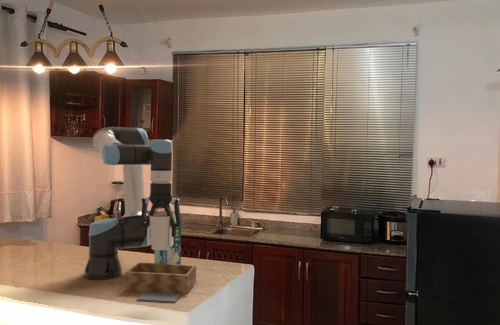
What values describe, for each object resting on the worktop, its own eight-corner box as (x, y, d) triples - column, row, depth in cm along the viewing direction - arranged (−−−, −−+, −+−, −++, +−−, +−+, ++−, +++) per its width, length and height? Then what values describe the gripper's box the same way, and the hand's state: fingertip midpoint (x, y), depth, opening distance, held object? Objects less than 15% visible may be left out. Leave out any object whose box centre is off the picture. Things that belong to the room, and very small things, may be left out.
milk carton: (159, 277, 185) (160, 218, 184) (154, 272, 193) (154, 215, 192) (180, 275, 189) (181, 217, 188) (174, 269, 197) (174, 214, 196)
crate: (125, 290, 168) (125, 272, 168) (138, 279, 182) (139, 262, 182) (187, 293, 166) (187, 275, 166) (195, 282, 180) (196, 265, 179)
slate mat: (136, 300, 158) (136, 299, 158) (144, 293, 166) (144, 291, 165) (174, 302, 156) (174, 301, 156) (180, 295, 164) (180, 293, 164)
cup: (150, 245, 164) (150, 213, 164) (172, 245, 165) (172, 213, 164) (147, 250, 156) (147, 217, 156) (170, 250, 157) (170, 217, 156)
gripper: (130, 182, 157) (129, 246, 158) (186, 183, 155) (185, 248, 156) (137, 180, 164) (136, 241, 165) (191, 182, 162) (190, 244, 163)
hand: (160, 245), depth 160 cm, fingers closed on cup, 7 cm apart
